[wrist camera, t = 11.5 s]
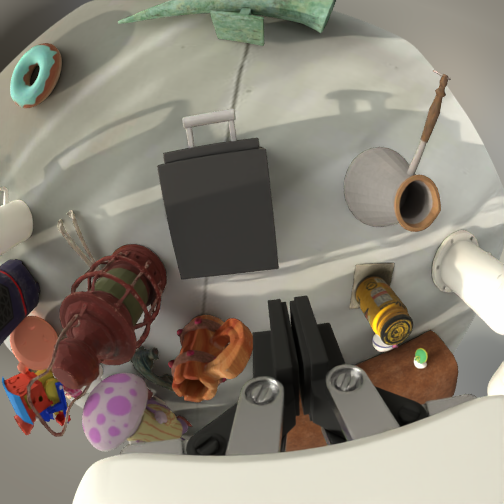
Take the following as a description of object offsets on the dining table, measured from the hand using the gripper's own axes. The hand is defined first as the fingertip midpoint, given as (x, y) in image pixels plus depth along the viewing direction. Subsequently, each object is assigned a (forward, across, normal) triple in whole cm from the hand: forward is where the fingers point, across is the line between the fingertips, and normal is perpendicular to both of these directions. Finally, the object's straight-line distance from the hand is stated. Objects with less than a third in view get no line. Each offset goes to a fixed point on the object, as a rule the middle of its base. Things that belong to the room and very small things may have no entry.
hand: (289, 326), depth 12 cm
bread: (+29, -17, +42) cm, 54 cm away
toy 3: (+25, -26, +29) cm, 46 cm away
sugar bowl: (+21, +48, +19) cm, 56 cm away
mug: (+29, +10, +20) cm, 37 cm away
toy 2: (+25, +21, +52) cm, 61 cm away
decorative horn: (+29, +16, -36) cm, 48 cm away
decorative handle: (+29, +23, +31) cm, 49 cm away
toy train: (+22, +52, +35) cm, 66 cm away
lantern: (+29, +21, +10) cm, 37 cm away
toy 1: (+28, +59, +42) cm, 77 cm away
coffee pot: (+29, -18, -5) cm, 35 cm away
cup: (+29, +46, -6) cm, 54 cm away
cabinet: (+29, +5, 0) cm, 30 cm away
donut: (+29, +34, -29) cm, 53 cm away
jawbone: (+30, +30, +6) cm, 42 cm away
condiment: (+29, -17, +17) cm, 38 cm away
